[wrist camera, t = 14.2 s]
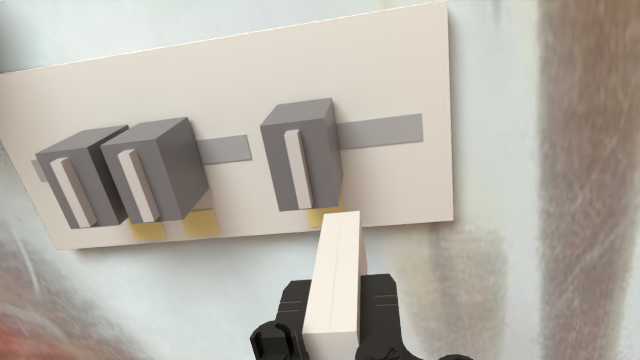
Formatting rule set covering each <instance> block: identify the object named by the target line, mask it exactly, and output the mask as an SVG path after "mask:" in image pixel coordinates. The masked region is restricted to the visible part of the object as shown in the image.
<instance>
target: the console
mask: <svg viewBox="0 0 640 360" xmlns="http://www.w3.org/2000/svg"><path fill="white" fill-rule="evenodd" d="M325 98H332V101H333V108H334V115H335V121H336V128H337V135H338V141H339V148H340V155H341V162H342V168H343V181H342V188H341V194H340V200H339V207H330V208H318V209H306V210H294V211H282V212H279V208H278V204H277V199H276V195H275V191H274V186H273V182H272V178H271V173H270V169H269V165H268V160H267V156H266V152H265V147H264V143H263V139H262V134H261V130H260V125H261V124H262V123H263V121H264V120H265V119H266V118H267V116H268V115H269V114H270V113H271V112H272V110H273V109H274V108H275V107H276V106H277V105H279V104H287V103H294V102H302V101H309V100H317V99H325ZM181 117H188V120H189V123H190V126H191V130H192V133H193V136H194V140H195V143H196V146H197V149H198V153H199V156H200V159H201V163H202V166H203V169H204V172H205V176H206V179H207V182H208V186H209V189H208V190H207V191H206V193H205V194H204V195H203V196H202V198H201V199H200V200H199V201H198V202H197V204H196V205H195V206H194V207H193V209H192V210H191V211H190V212H189V213H188V215H187V216H186V217H185V218H184V220H176V221H164V222H152V223H141V224H131V221H130V219H129V217H128V218H127V219H126V220H125V221H124V222H123V223H121V224H120V225H117V226H105V227H93V228H82V229H71V228H70V226H69V224H68V222H67V220H66V218H65V216H64V214H63V212H62V210H61V208H60V206H59V203H58V201H57V199H56V197H55V195H54V193H53V191H52V189H51V187H50V185H49V183H48V181H47V179H46V177H45V174H44V172H43V170H42V168H41V166H40V164H39V162H38V160H37V158H36V156H35V154H36V153H38V152H40V151H42V150H44V149H46V148H48V147H50V146H52V145H54V144H56V143H58V142H60V141H62V140H64V139H66V138H68V137H70V136H72V135H74V134H76V133H78V132H81V131H83V130H91V129H98V128H106V127H113V126H121V125H128V126H129V129H130V128H132V127H133V126H135V125H137V124H139V123H143V122H151V121H159V120H166V119H174V118H181ZM0 140H1V142H2V144H3V146H4V148H5V150H6V152H7V154H8V156H9V158H10V160H11V162H12V164H13V166H14V168H15V170H16V171H17V173H18V175H19V177H20V179H21V181H22V183H23V185H24V187H25V189H26V191H27V193H28V195H29V197H30V199H31V201H32V203H33V205H34V207H35V209H36V211H37V213H38V214H39V216H40V218H41V220H42V222H43V224H44V226H45V228H46V230H47V232H48V234H49V236H50V238H51V240H52V242H53V244H54V246H55V248H56V250H65V249H79V248H92V247H105V246H119V245H132V244H145V243H159V242H172V241H185V240H199V239H212V238H225V237H239V236H252V235H265V234H279V233H292V232H305V231H319V230H321V228H322V223H323V218H324V214H330V213H341V212H352V211H360V216H361V224H362V227H372V226H385V225H399V224H412V223H425V222H439V221H452V220H454V219H453V184H452V150H451V115H450V80H449V45H448V11H447V1H446V0H439V1H433V2H427V3H421V4H415V5H409V6H403V7H397V8H391V9H385V10H379V11H373V12H367V13H361V14H355V15H349V16H343V17H337V18H331V19H325V20H319V21H313V22H307V23H301V24H295V25H289V26H283V27H277V28H271V29H265V30H259V31H253V32H247V33H241V34H235V35H229V36H223V37H217V38H211V39H205V40H199V41H193V42H187V43H181V44H175V45H169V46H163V47H157V48H151V49H145V50H139V51H133V52H127V53H121V54H115V55H109V56H103V57H97V58H91V59H85V60H79V61H73V62H67V63H61V64H55V65H49V66H44V67H38V68H32V69H26V70H20V71H14V72H8V73H2V74H0Z"/></svg>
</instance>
